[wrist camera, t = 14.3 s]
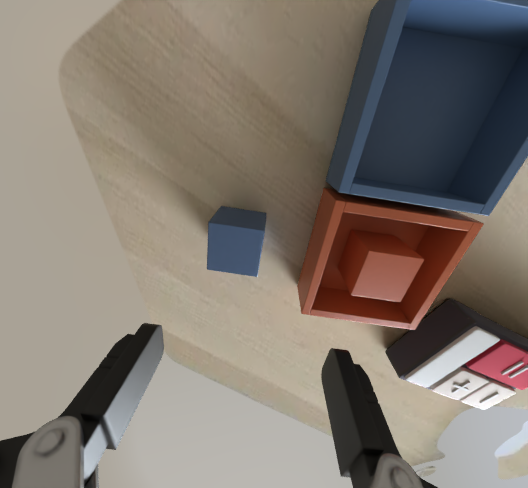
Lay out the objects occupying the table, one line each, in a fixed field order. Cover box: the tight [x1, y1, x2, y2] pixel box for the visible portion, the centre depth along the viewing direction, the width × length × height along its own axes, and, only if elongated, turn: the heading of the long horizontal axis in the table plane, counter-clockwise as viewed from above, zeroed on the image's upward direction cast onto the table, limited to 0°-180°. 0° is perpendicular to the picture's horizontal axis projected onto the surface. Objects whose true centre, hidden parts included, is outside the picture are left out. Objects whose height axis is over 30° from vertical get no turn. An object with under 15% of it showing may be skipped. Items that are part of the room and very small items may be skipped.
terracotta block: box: [338, 229, 424, 302], centre depth 20 cm, size 5×5×5 cm
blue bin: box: [326, 0, 528, 216], centre depth 15 cm, size 12×12×4 cm
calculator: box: [386, 299, 528, 410], centre depth 27 cm, size 11×4×15 cm
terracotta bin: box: [297, 188, 483, 330], centre depth 21 cm, size 12×12×4 cm
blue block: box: [207, 206, 267, 277], centre depth 20 cm, size 5×5×5 cm
